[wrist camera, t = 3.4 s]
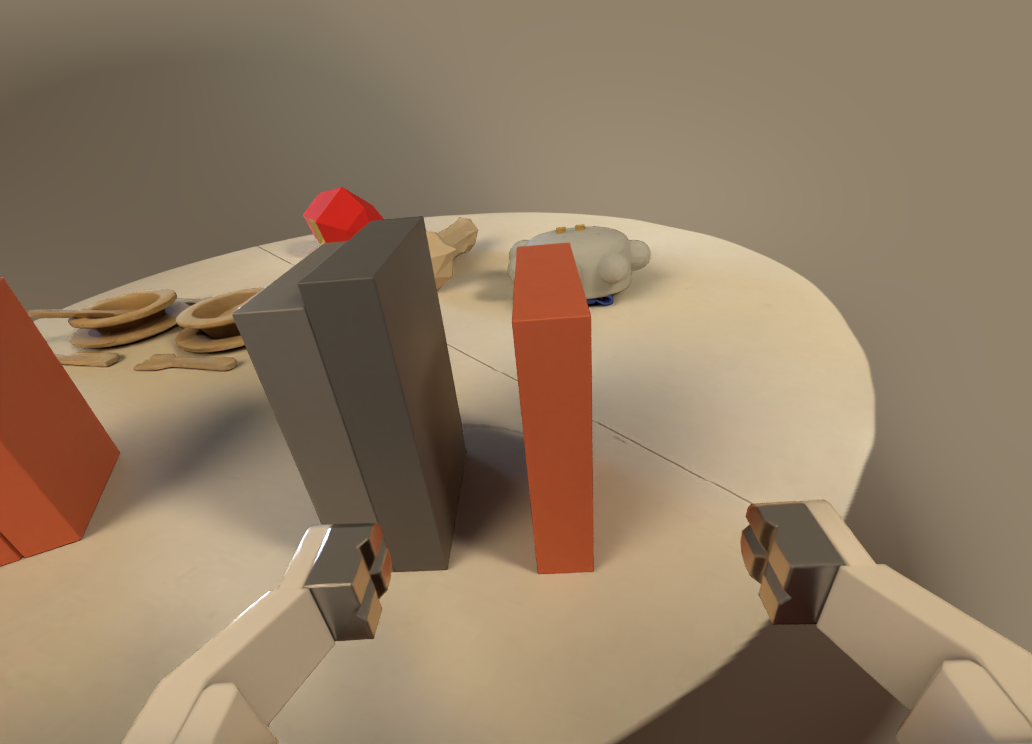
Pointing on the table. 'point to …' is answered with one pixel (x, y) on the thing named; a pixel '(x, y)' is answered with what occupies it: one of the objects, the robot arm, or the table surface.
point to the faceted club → (450, 247)
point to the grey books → (366, 387)
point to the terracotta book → (555, 403)
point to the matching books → (43, 443)
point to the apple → (338, 215)
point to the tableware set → (156, 327)
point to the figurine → (595, 258)
